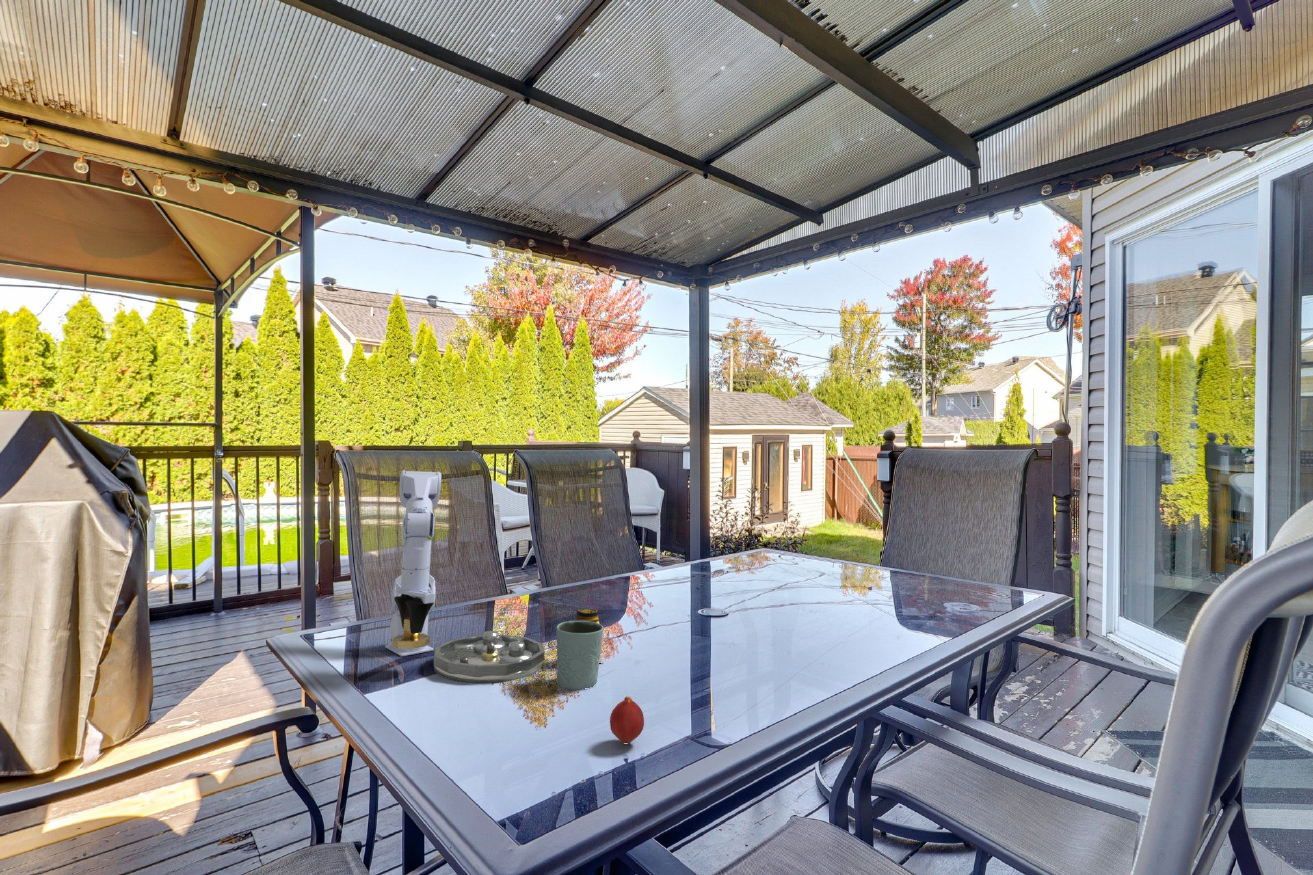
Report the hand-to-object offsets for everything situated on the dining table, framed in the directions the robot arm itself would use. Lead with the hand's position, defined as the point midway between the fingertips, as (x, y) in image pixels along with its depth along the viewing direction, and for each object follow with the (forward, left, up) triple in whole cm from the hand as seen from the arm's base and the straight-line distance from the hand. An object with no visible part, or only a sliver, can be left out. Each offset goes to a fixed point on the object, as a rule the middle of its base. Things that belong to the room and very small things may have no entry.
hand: (412, 630), depth 136 cm
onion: (+56, +12, -9) cm, 58 cm away
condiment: (+17, +34, -9) cm, 39 cm away
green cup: (+28, +24, -9) cm, 38 cm away
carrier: (+6, +16, -9) cm, 19 cm away
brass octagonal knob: (0, 0, -3) cm, 3 cm away
